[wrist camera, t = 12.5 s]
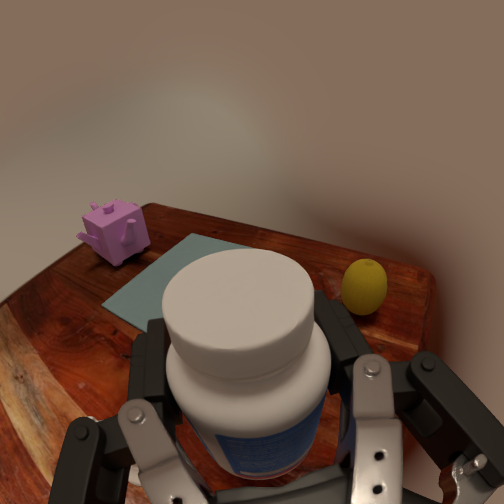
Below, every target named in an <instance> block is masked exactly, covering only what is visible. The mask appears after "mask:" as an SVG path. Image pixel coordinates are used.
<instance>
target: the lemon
mask: <svg viewBox="0 0 504 504" xmlns="http://www.w3.org/2000/svg"><path fill="white" fill-rule="evenodd" d="M386 291H387V277H386V273H385V271H384V269H383V268H382V266H381V265H380V264H379V263H377V262H376V261H374V260H371V259H361V260H358V261H356V262H354V263H353V264H351V265H350V267H349V268H348V269H347V271H346V272H345V275H344V277H343V280H342V283H341V298H342V301H343V304H344V305H345V307H346V308H347V309H348V310H349V311H350V312H352V313H354V314H356V315H368V314H371V313H373V312H374V311H376V310H377V309H378V308H379V307H380V306H381V304H382V302H383V300H384V298H385V295H386Z"/></svg>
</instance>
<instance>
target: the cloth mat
mask: <svg viewBox="0 0 504 504" xmlns="http://www.w3.org/2000/svg"><path fill="white" fill-rule="evenodd" d="M233 249H254V248H250V247H246V246H242V245H238V244H234V243H230V242H226V241H222V240H218V239H213V238H209V237H205V236H201V235H197V234H193V233H192V234H190V235H189V236H188V237H186V238H185V239H184V240H182V241H181V242H180V243H178V244H177V245H176V246H174V247H173V248H172V249H170V250H169V251H168V252H167V253H165V254H164V255H163V256H161V257H160V258H159V259H158V260H156V261H155V262H154V263H152V264H151V265H150V266H149V267H147V268H146V269H145V270H144V271H142V272H141V273H140V274H139V275H137V276H136V277H135V278H134V279H132V280H131V281H130V282H129V283H127V284H126V285H125V286H124V287H122V288H121V289H120V290H119V291H118V292H116V293H115V294H114V295H113V296H111V297H110V298H109V299H108V300H107V301H105V302H104V303H103V304H102V307H104V308H105V309H107V310H108V311H110V312H111V313H113V314H115V315H116V316H118V317H119V318H121V319H123V320H124V321H126V322H128V323H129V324H131V325H133V326H134V327H136V328H138V329H139V330H141V331H143V332H144V333H147V323H148V320H149V319H157V318H163V313H162V298H163V294H164V291H165V289H166V287H167V285H168V284H169V282H170V281H171V279H172V278H173V277H174V276H175V275H176V274H177V273H178V272H179V271H180V270H181V269H183V268H184V267H186V266H187V265H189V264H190V263H192V262H194V261H196V260H198V259H200V258H202V257H205V256H207V255H210V254H213V253H217V252H221V251H226V250H233Z"/></svg>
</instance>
